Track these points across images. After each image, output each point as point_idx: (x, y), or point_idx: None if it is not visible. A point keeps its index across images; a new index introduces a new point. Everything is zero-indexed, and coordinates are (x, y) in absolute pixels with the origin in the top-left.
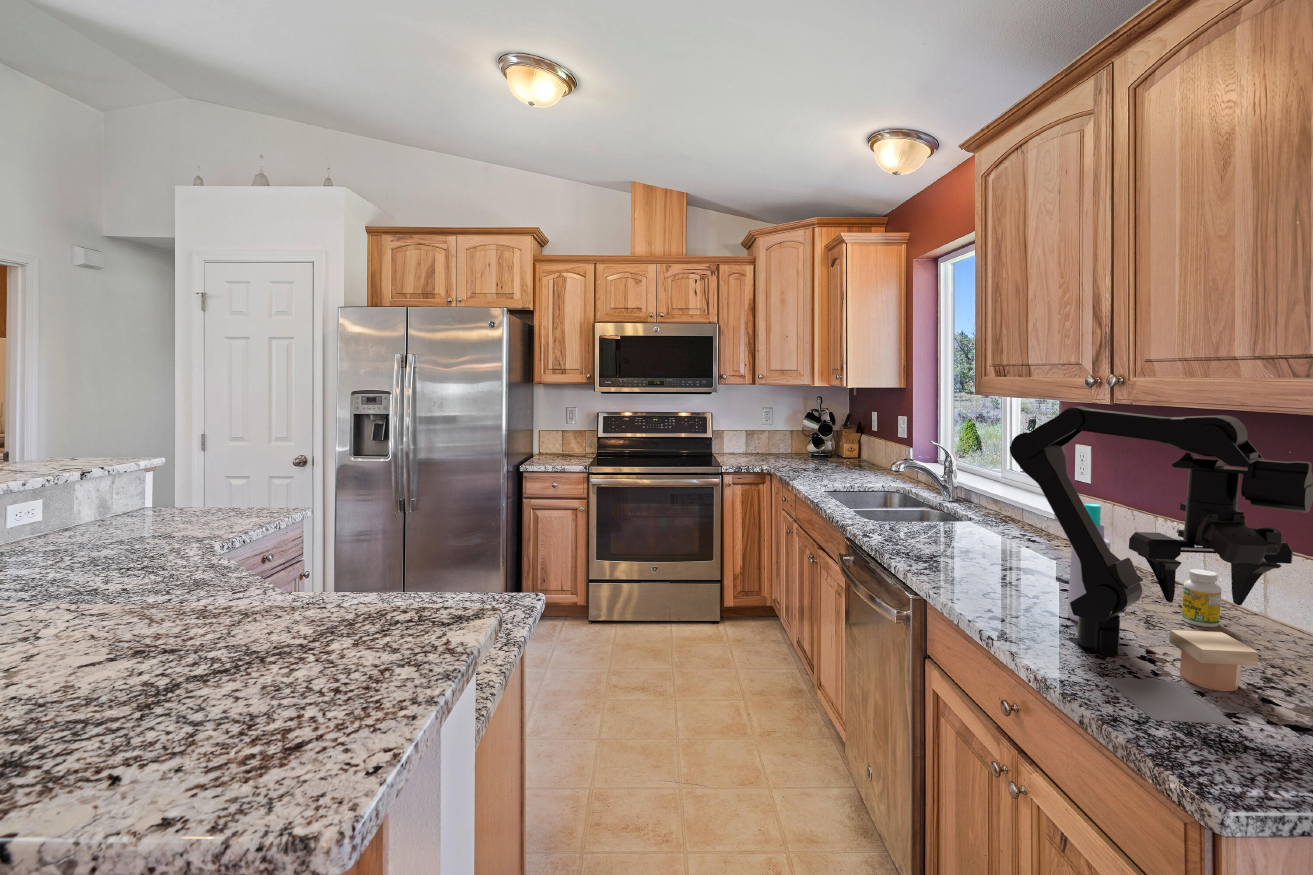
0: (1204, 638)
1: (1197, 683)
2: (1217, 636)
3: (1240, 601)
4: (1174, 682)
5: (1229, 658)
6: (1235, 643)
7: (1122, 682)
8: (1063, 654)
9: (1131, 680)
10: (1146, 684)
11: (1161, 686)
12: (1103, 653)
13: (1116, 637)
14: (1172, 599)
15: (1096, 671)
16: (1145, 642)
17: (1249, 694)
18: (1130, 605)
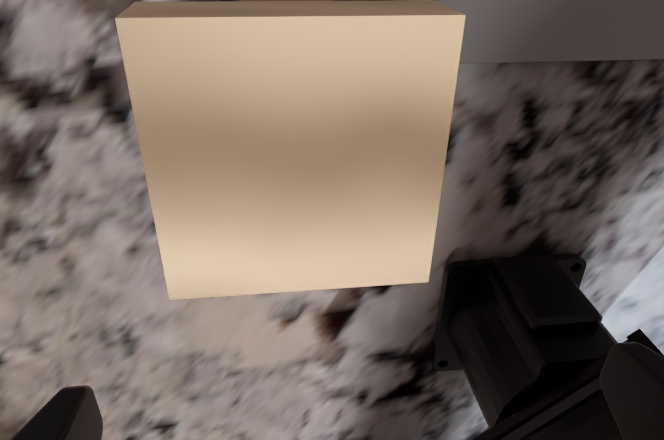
0: (326, 197)
1: None
2: (231, 238)
3: (66, 411)
4: None
5: (295, 6)
6: (189, 147)
7: (659, 21)
8: (643, 253)
9: (607, 47)
10: (578, 14)
11: (529, 4)
12: (544, 255)
13: (533, 300)
14: (644, 356)
15: (642, 136)
16: (303, 383)
17: None
18: (532, 437)
